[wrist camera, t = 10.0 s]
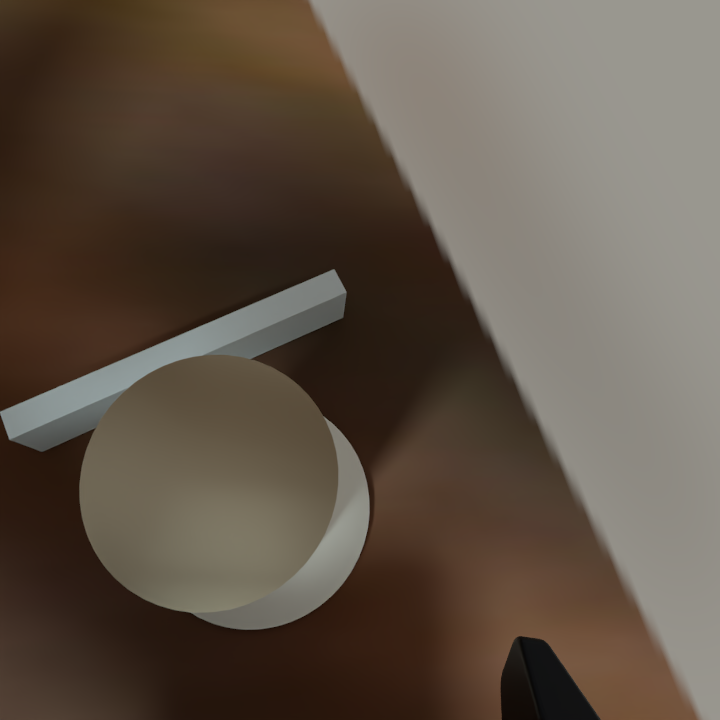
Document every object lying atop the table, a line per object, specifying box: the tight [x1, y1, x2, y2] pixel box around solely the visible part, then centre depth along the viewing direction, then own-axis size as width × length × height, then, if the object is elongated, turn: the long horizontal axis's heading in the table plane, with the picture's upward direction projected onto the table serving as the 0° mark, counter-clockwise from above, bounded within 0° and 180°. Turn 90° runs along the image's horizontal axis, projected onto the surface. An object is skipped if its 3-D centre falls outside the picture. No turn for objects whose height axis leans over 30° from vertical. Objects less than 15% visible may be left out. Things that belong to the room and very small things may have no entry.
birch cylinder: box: [79, 355, 338, 613], centre depth 17 cm, size 5×5×10 cm
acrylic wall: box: [0, 269, 347, 452], centre depth 22 cm, size 12×1×2 cm, turn 117°
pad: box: [190, 416, 370, 630], centre depth 22 cm, size 8×8×1 cm
